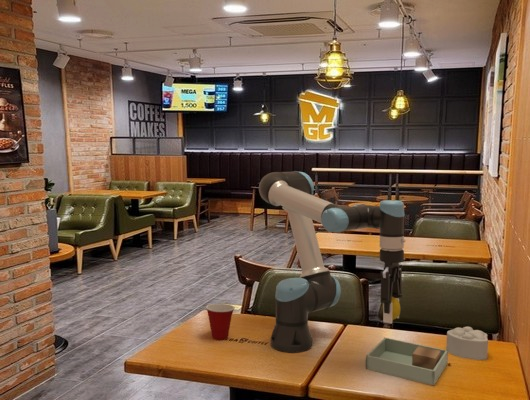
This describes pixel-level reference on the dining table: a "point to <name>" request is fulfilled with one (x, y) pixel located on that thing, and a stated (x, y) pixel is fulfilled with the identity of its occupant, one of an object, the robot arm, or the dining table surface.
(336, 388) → the dining table surface
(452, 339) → the lumpy-topped squat cylinder
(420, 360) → the walnut block
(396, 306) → the lemon
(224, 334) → the plastic cup
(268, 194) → the robot arm
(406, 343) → the box
